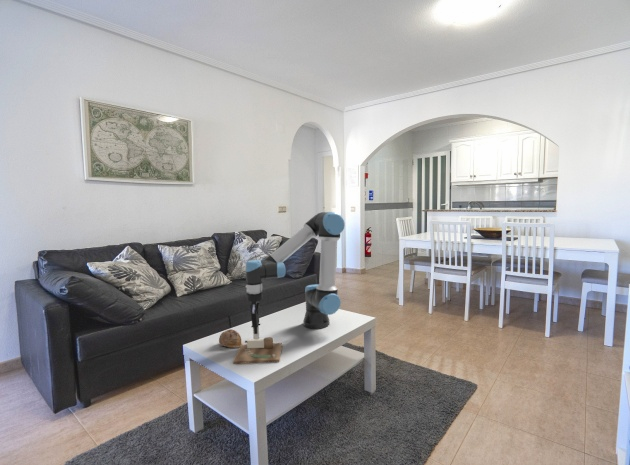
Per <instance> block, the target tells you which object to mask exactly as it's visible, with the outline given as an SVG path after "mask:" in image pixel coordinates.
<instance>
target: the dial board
mask: <svg viewBox="0 0 630 465" xmlns="http://www.w3.org/2000/svg"><path fill="white" fill-rule="evenodd" d="M282 349H283V343H282V342H273V348H272V349H265V348H247V343H245V344H242V345H241V346H240V347H238V350H237V353H236V355H235V357H234V359H233V362H232V363H233V365H242V364H243V365H244V364H264V363H265V364H266V363H279V362H280V361H281V360H280V359H281V354H282Z"/></svg>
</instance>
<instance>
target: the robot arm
mask: <svg viewBox="0 0 630 465" xmlns="http://www.w3.org/2000/svg"><path fill="white" fill-rule="evenodd" d="M345 224H346V223H345V219H344V217H343V216H342V215H341V214H339V213H338V212H333V211H326V212H325V211H323V212H319V213H317V214H314V215H313V216H312V217H311V218H310V219H309V220H307V221H306V222H305V223H304V224H303V227H301V229H300V230H298V231H297V232H296V233H295V234H293V235H292V236H291V237H290V238H289V239H287V240H286V241H285V242H284V243H283V244H281V245H280V246H279V247H278V248H276V250H274V251H273V252H272V253H271V254H269V255H268V256H267V257H266V258H262V259H260V260H259V259H254V260H253V259H252V260H248V261H247V260H246V262H245V279H246V283H245V284H246V285H245V286H244V287H245V288H246V300H247V302H250V303H251V304H250V305H249V306H250V315H251V317H250V318H251V327H250V328H252V333H253V334H252V336H253V339H260V326H261V323H260V301H262V300H263V282H262V281H263V280H266V279H267V280H269V279H279V278H284V277H285V276H286V273H287V272H286V265H285V263H284V262H285V261H286V260H287V259H289V258H290V257H291V256H292V255H293V254H294V253H296V252H297V251H298V250H299V249H301V247H302V246H304V245H305V244H306V243H308V242H309V241H310V240H311V239H313V238H316V237H317V236H318V238H319V239H320V241H321V242H320V258H319V279H318V282H319V283H317V284H315V283H314V284H309V285H306V286H305V287H304V288H305V291H304V294H305V295H304V296H305V312H304V313H305V314H304V318H303V321H302V322H303V324H302V325H303V326H304V327H305V328H307V329H318V328H319V329H323V328H326V327H328V325H329V326H330V317H329V315H333V314H336V313H337V311H339V309H340V307H341V304H342V301H341V298H340V297H339V295H338V289H339V288H338V287H337V286H336V271H337V249H338V241H339V240H340V239H341V234H342V232H344V229H345V227H346V226H345ZM253 339H252V340H253Z"/></svg>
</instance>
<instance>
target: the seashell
mask: <svg viewBox="0 0 630 465" xmlns="http://www.w3.org/2000/svg"><path fill="white" fill-rule="evenodd" d="M218 343H219V345H220V346H222V347H226V348H240V346H241V345H243V344H242V336H241V335H240V333H239V332H238V331H237V330H235V329H231V328H230V329H227V330H225V331H223V332H221V334H220V335H219V337H218Z"/></svg>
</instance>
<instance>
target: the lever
mask: <svg viewBox="0 0 630 465" xmlns="http://www.w3.org/2000/svg"><path fill="white" fill-rule="evenodd" d="M244 343H245V344H247V348H265V349H272V348H273V343H274V337H270V336H269V337H265V338H259V339H247V340H244Z"/></svg>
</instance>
